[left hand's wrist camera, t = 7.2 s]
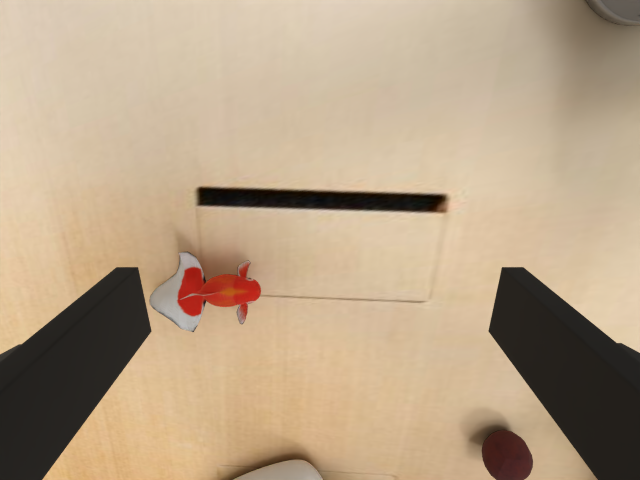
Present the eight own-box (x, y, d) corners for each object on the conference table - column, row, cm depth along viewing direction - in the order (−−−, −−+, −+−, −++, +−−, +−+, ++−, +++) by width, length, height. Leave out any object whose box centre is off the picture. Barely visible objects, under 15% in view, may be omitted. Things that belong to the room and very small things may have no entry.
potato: (470, 451, 61) (488, 493, 55) (481, 418, 58) (501, 458, 52) (511, 454, 61) (534, 496, 55) (524, 421, 59) (550, 461, 52)
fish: (264, 346, 47) (217, 367, 38) (177, 310, 53) (118, 320, 44) (283, 270, 47) (241, 272, 38) (194, 241, 53) (137, 237, 43)
